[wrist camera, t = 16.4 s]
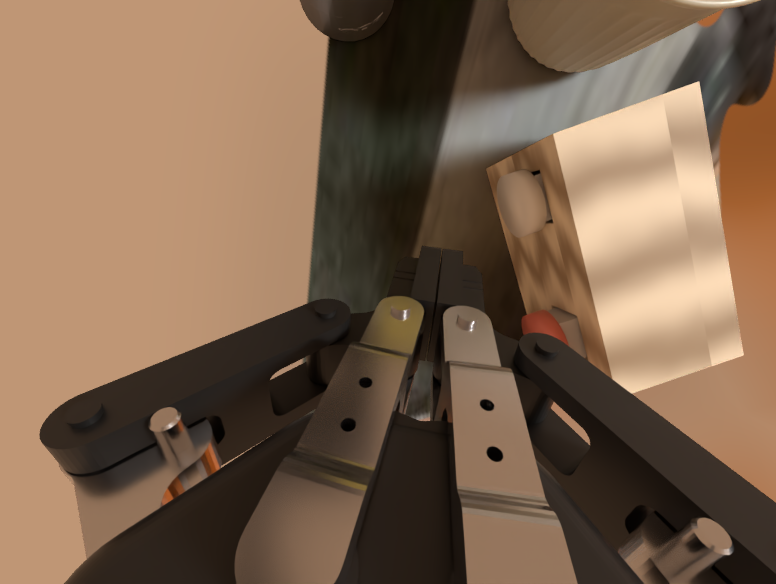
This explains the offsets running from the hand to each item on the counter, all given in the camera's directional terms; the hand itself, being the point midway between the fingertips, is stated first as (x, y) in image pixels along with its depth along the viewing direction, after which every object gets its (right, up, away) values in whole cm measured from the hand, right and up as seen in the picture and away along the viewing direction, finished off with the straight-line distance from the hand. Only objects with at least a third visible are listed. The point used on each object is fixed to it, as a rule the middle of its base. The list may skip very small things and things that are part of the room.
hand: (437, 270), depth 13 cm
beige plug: (+12, +8, +18) cm, 23 cm away
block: (+16, +4, +26) cm, 31 cm away
